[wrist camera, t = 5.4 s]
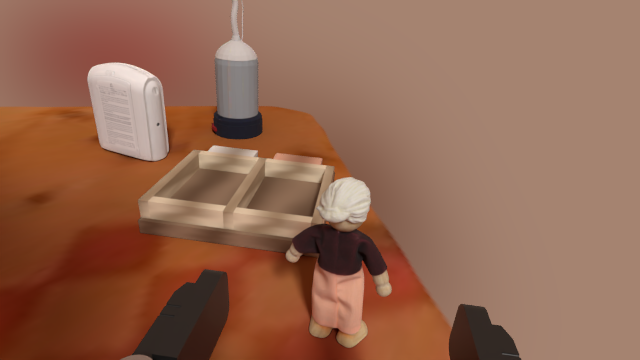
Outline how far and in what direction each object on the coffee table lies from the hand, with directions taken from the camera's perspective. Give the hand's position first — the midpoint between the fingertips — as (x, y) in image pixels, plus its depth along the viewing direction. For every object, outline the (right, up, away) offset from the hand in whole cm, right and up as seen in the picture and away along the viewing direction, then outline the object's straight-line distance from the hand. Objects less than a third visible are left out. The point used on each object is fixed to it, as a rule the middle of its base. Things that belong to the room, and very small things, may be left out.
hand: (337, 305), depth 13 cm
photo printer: (-27, +8, +42) cm, 51 cm away
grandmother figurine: (0, -7, +16) cm, 18 cm away
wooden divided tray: (-9, +2, +31) cm, 33 cm away
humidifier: (-15, +13, +53) cm, 56 cm away
